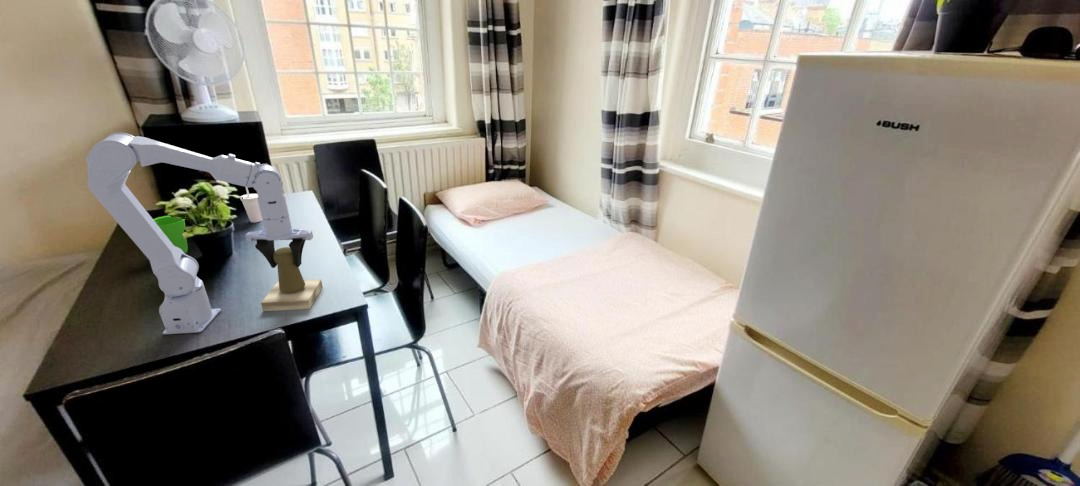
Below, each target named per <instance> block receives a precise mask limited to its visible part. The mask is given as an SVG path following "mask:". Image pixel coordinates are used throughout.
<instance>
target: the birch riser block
mask: <svg viewBox="0 0 1080 486" xmlns="http://www.w3.org/2000/svg"><path fill="white" fill-rule="evenodd" d="M303 280H304V282H305V286H304V287H303V288H302V289H301V290H299V291H296V292H292V293H284V292H281V291H280V290H279V280H278V281H277V282H276V283H275V284H274V286H273V287H272V288H271V289H270V290H269V292H268V293H267V294H266V296H264V297H263V299H262V301H261V302H260V306H261V308H262V311H263V312H273V311H274V312H275V311H276V312H277V311H278V312H279V311H293V310H311V308H312V306H313V305H314V303H315V301H316V299H317V298H318V296H319V295H320V292H321V291H322V289H323V283H322V279H320V278H319V279H303Z"/></svg>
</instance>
